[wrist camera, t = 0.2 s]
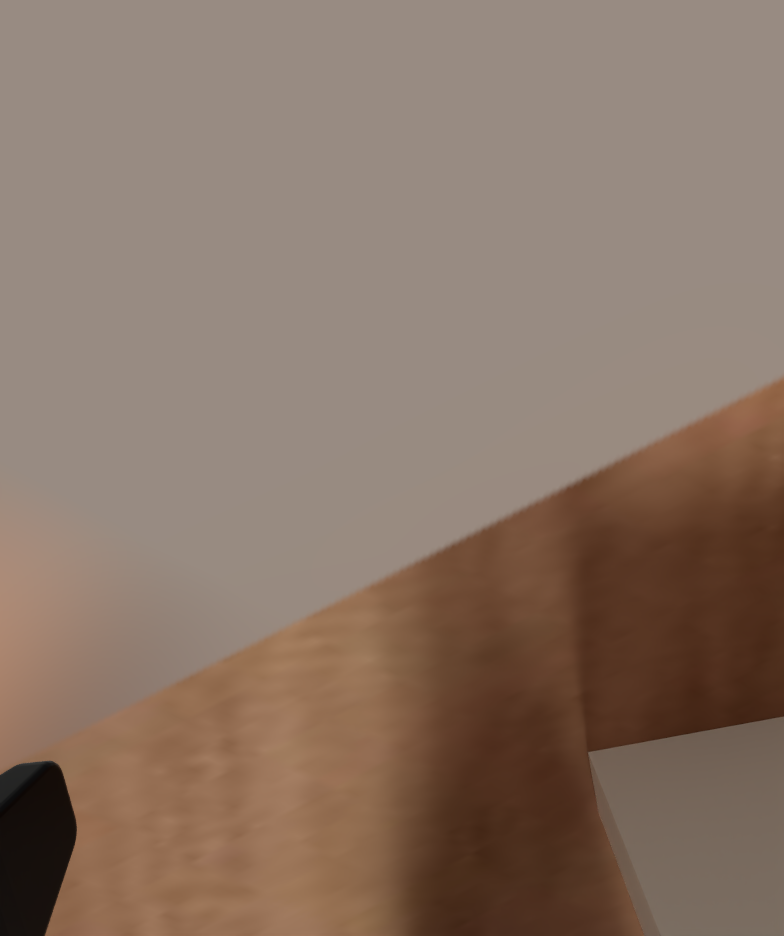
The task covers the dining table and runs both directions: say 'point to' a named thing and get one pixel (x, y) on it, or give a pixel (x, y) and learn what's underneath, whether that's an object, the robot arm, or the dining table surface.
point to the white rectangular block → (699, 828)
